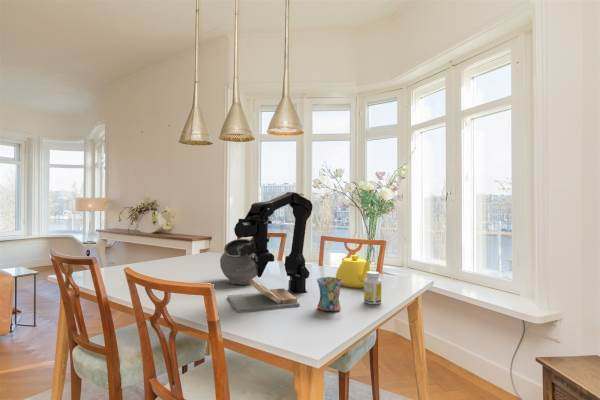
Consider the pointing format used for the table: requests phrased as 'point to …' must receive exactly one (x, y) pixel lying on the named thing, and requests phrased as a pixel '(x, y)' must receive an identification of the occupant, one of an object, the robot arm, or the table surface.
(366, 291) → the pill bottle
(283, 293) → the plank
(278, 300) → the click plank
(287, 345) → the table surface
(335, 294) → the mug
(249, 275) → the pot
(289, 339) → the table surface
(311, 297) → the table surface
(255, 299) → the underlay
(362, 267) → the teapot
